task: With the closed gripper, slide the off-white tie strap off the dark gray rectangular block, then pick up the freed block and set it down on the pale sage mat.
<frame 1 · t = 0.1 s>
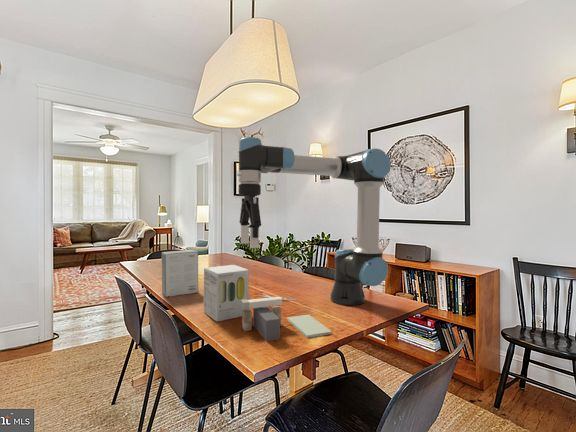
hand: (249, 245, 105), 28 cm above the table, tool pointing down, fingers open, 13 cm apart
tie strap: (261, 302, 105), point 8 cm above the table, slide at 0.0 cm
supplement box: (225, 314, 118), on the table
hard drive box: (180, 293, 145), on the table
tie bracket: (261, 326, 105), on the table
scissors: (273, 299, 139), on the table
dark gray rectangular block: (265, 332, 101), on the table
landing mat: (307, 326, 105), on the table
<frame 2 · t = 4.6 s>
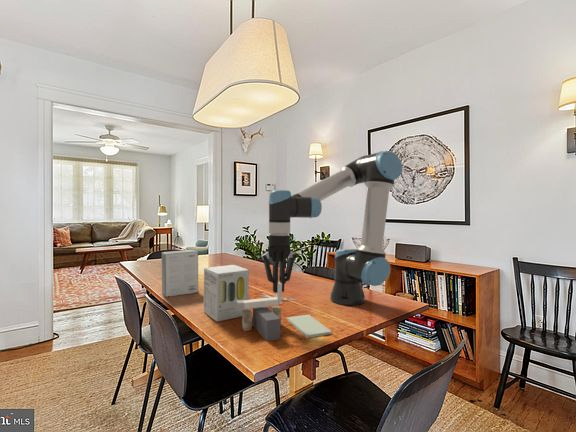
hand: (278, 301, 107), 8 cm above the table, tool pointing down, fingers closed
tie strap: (257, 303, 104), point 8 cm above the table, slide at 1.7 cm, touching gripper
everything else where it was.
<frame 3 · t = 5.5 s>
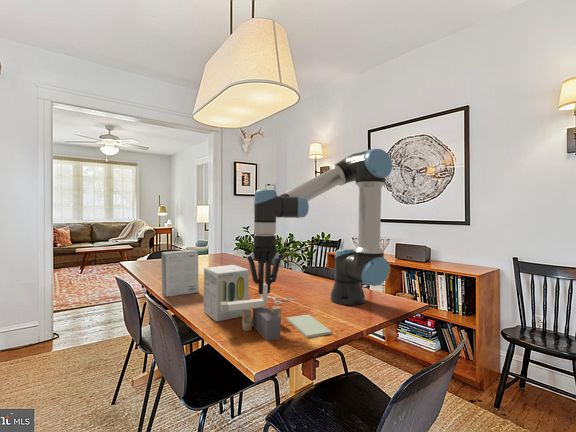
hand: (264, 302, 105), 8 cm above the table, tool pointing down, fingers closed
tie strap: (242, 304, 102), point 8 cm above the table, slide at 6.9 cm, touching gripper
everything else where it was.
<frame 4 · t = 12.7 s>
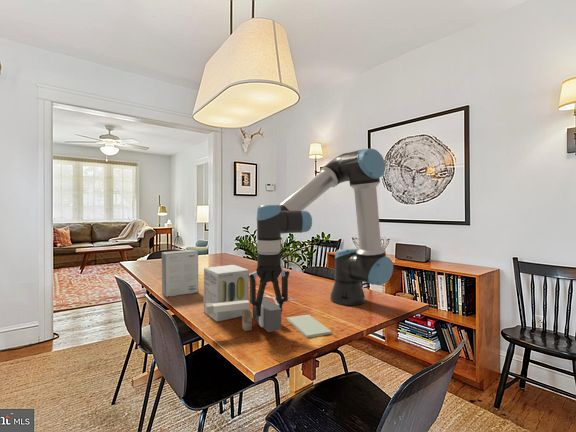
hand: (269, 324, 98), 3 cm above the table, tool pointing down, fingers closed on dark gray rectangular block, 5 cm apart
tie strap: (227, 306, 100), point 8 cm above the table, slide at 11.7 cm
dark gray rectangular block: (266, 323, 101), point 3 cm above the table, touching gripper
everything else where it was.
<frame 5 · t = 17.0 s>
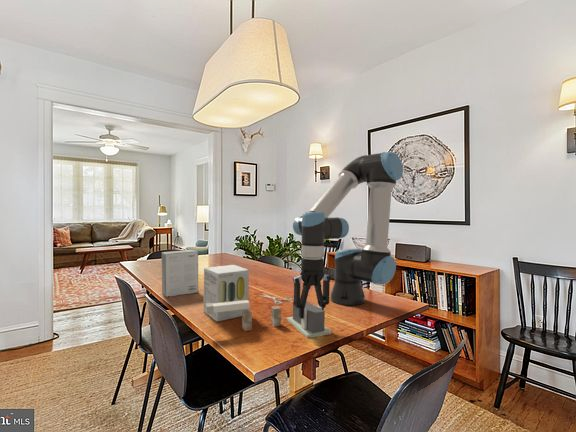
hand: (311, 326, 102), 1 cm above the table, tool pointing down, fingers closed on dark gray rectangular block, 5 cm apart
dark gray rectangular block: (307, 324, 105), point 1 cm above the table, touching gripper, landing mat
everything else where it was.
when the fingers open (1 cm above the table, at t = 17.0 s): dark gray rectangular block stays where it is, resting on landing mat.
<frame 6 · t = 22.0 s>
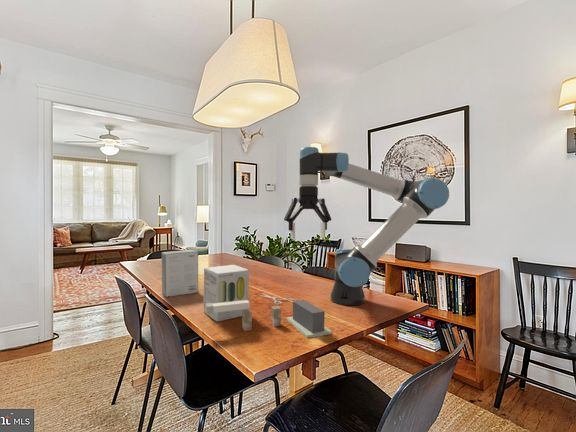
hand: (308, 238, 123), 29 cm above the table, tool pointing down, fingers open, 13 cm apart
dark gray rectangular block: (307, 324, 105), point 1 cm above the table, touching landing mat
everything else where it was.
at the end: tie strap slide at 11.7 cm; dark gray rectangular block 0.6 cm off-centre on the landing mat, point 0.8 cm above the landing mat's base; dark gray rectangular block tilted 0° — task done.
